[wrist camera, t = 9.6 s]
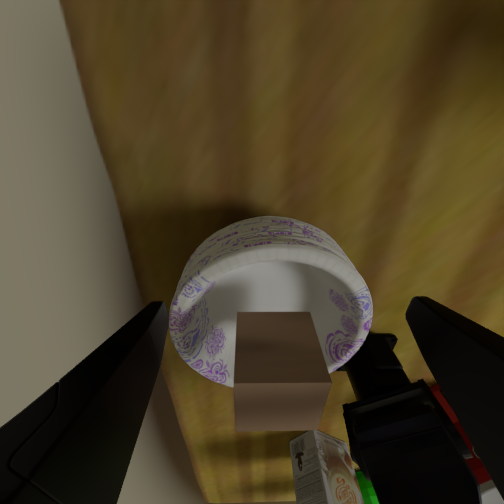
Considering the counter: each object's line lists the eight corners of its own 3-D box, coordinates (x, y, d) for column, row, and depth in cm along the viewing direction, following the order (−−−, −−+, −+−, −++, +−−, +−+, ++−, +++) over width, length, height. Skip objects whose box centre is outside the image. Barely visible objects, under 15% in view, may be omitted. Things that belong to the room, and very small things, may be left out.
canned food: (486, 382, 35) (574, 484, 26) (448, 410, 39) (512, 508, 29) (442, 374, 34) (517, 477, 24) (407, 404, 38) (461, 503, 28)
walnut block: (301, 358, 19) (316, 430, 15) (238, 358, 19) (235, 431, 15) (310, 311, 17) (332, 382, 12) (237, 311, 17) (233, 383, 12)
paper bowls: (352, 304, 27) (387, 370, 20) (227, 339, 30) (221, 409, 23) (321, 174, 20) (359, 208, 13) (158, 236, 22) (120, 292, 16)
